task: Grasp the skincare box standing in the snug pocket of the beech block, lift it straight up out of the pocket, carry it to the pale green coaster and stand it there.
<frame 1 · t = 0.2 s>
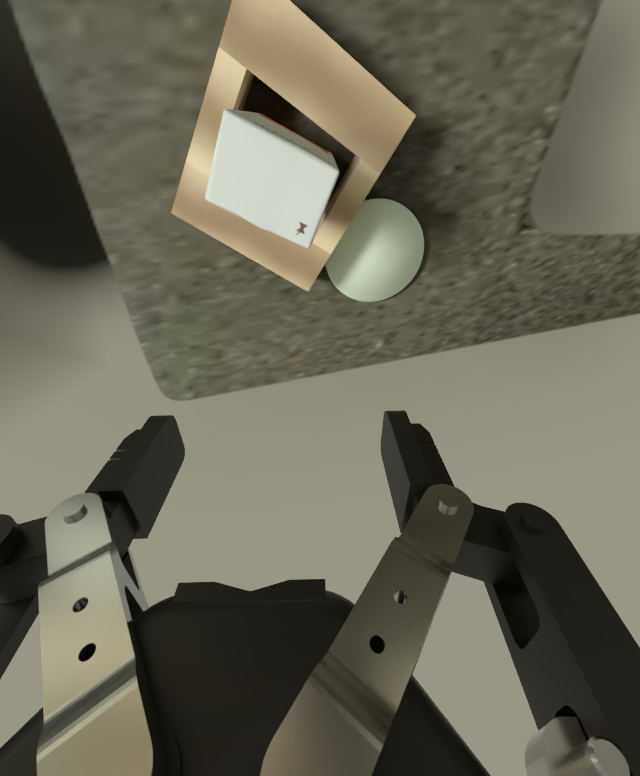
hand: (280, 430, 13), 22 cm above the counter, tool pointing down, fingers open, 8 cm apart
skincare box: (287, 162, 26), resting in pocket block
pocket block: (287, 162, 26), on the counter
coaster: (373, 253, 30), on the counter
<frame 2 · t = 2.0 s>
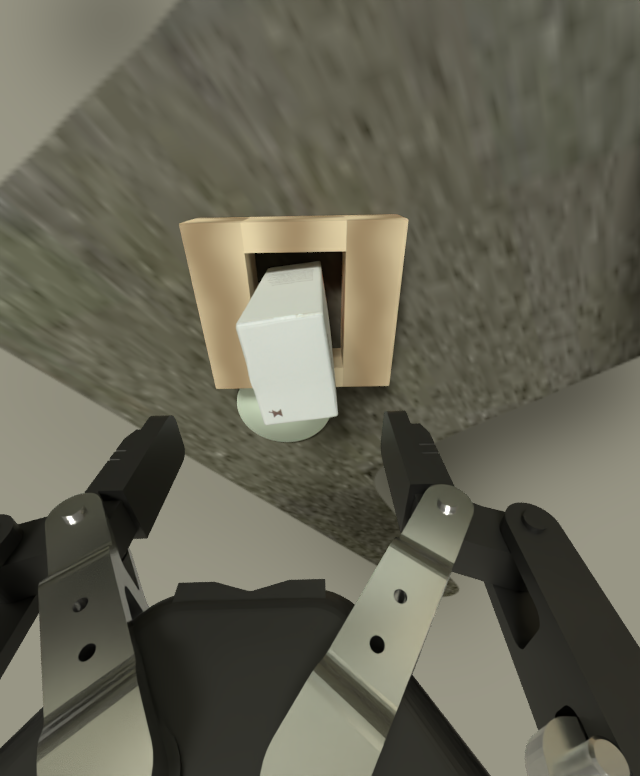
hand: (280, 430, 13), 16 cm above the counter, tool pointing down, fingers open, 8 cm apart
skincare box: (300, 299, 26), resting in pocket block
pocket block: (300, 300, 26), on the counter
coaster: (285, 403, 31), on the counter
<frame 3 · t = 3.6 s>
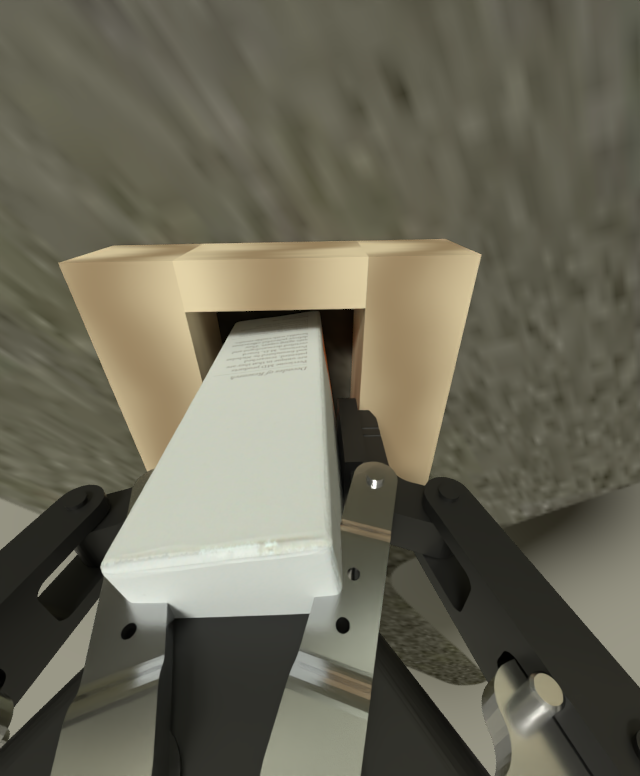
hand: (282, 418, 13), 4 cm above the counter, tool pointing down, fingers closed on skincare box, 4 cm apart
skincare box: (289, 365, 17), resting in pocket block, touching gripper
pocket block: (289, 367, 17), on the counter
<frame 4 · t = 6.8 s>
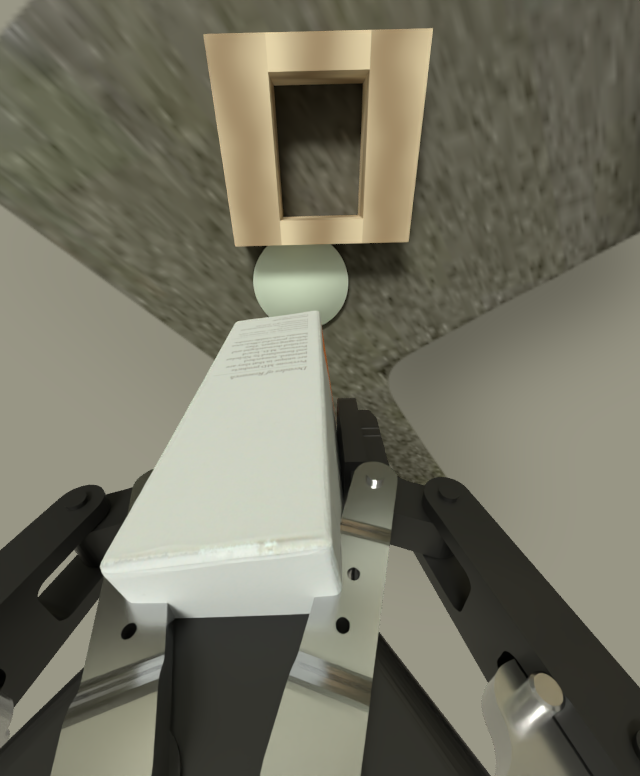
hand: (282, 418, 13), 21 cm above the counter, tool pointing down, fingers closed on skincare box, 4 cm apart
skincare box: (289, 364, 17), point 17 cm above the counter, touching gripper
pocket block: (319, 155, 26), on the counter
coaster: (301, 283, 31), on the counter
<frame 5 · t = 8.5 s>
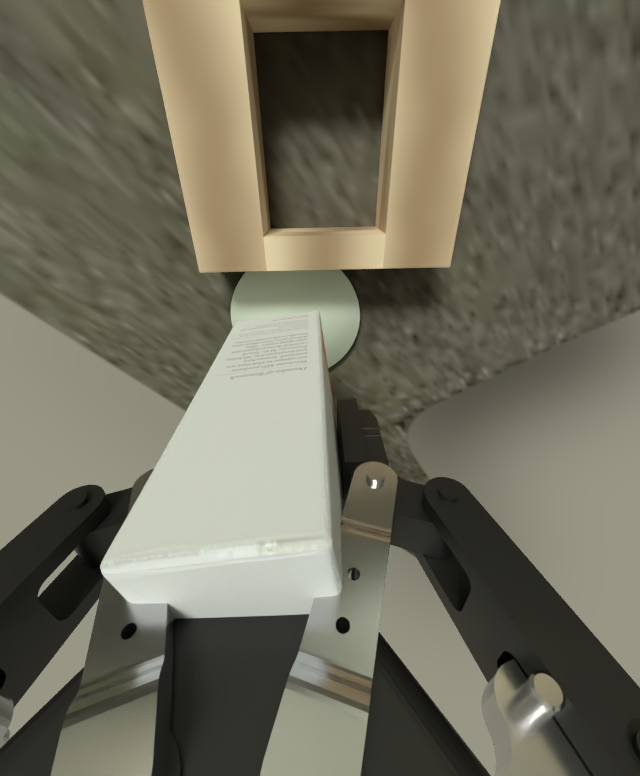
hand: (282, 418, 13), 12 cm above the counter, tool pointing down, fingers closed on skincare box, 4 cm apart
skincare box: (289, 364, 17), point 7 cm above the counter, touching gripper
pocket block: (322, 141, 18), on the counter
coaster: (296, 317, 23), on the counter
when the fingers open (6 cm above the counter, at t = 10.1 s): skincare box stays where it is, resting on coaster.
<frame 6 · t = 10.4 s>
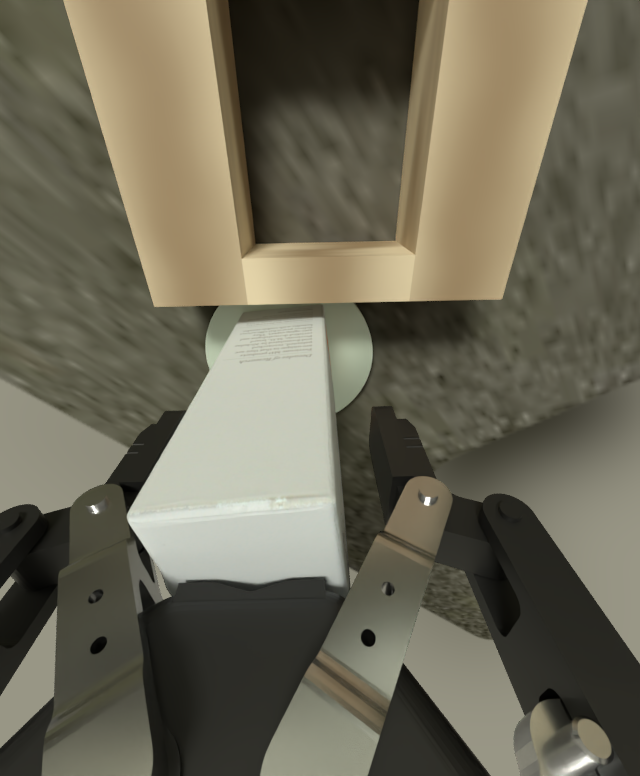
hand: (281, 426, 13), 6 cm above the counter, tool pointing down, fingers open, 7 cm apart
skincare box: (292, 356, 18), resting on coaster
pocket block: (324, 125, 13), on the counter
coaster: (290, 354, 18), on the counter
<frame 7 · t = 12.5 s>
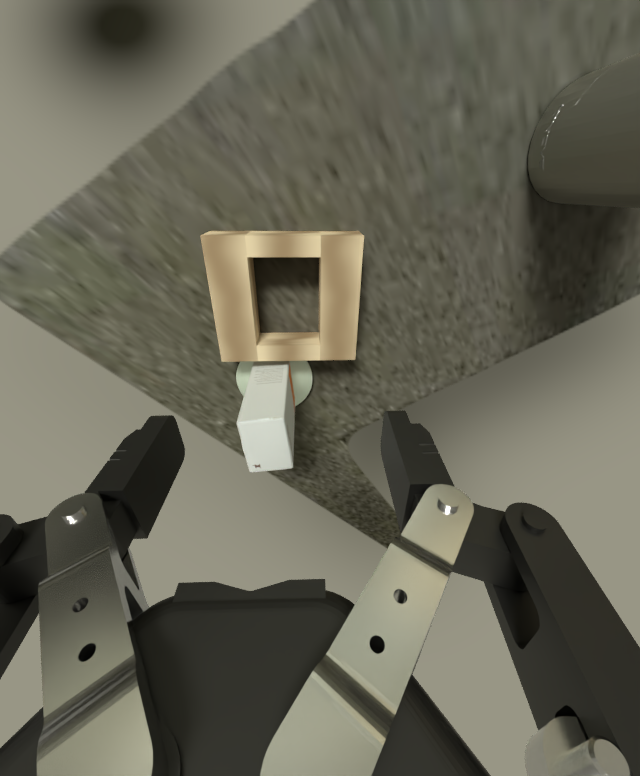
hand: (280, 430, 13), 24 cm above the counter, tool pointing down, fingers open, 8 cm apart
skincare box: (275, 378, 39), resting on coaster
pocket block: (287, 294, 34), on the counter
coaster: (275, 377, 39), on the counter
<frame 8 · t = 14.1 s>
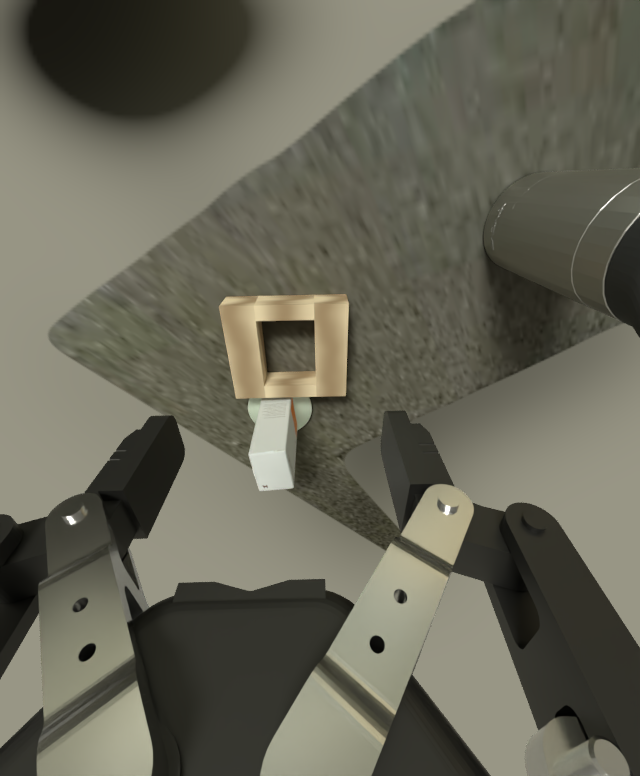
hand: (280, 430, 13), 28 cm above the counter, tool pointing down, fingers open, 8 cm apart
skincare box: (280, 408, 46), resting on coaster
pocket block: (289, 342, 41), on the counter
coaster: (280, 407, 46), on the counter
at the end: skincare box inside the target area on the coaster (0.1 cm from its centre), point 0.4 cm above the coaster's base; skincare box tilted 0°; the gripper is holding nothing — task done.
